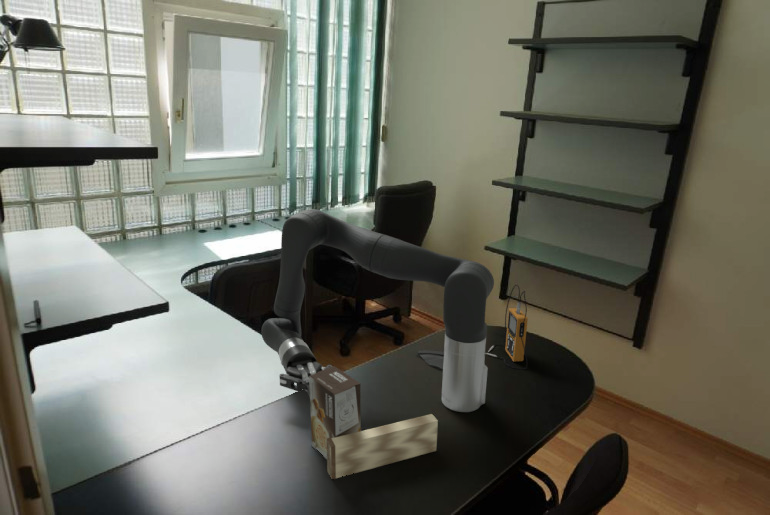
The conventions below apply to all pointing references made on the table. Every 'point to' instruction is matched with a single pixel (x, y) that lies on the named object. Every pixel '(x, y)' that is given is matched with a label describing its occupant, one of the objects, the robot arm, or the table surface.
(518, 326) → the multimeter
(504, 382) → the table surface
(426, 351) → the curved wedge
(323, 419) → the coffee box
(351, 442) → the board
